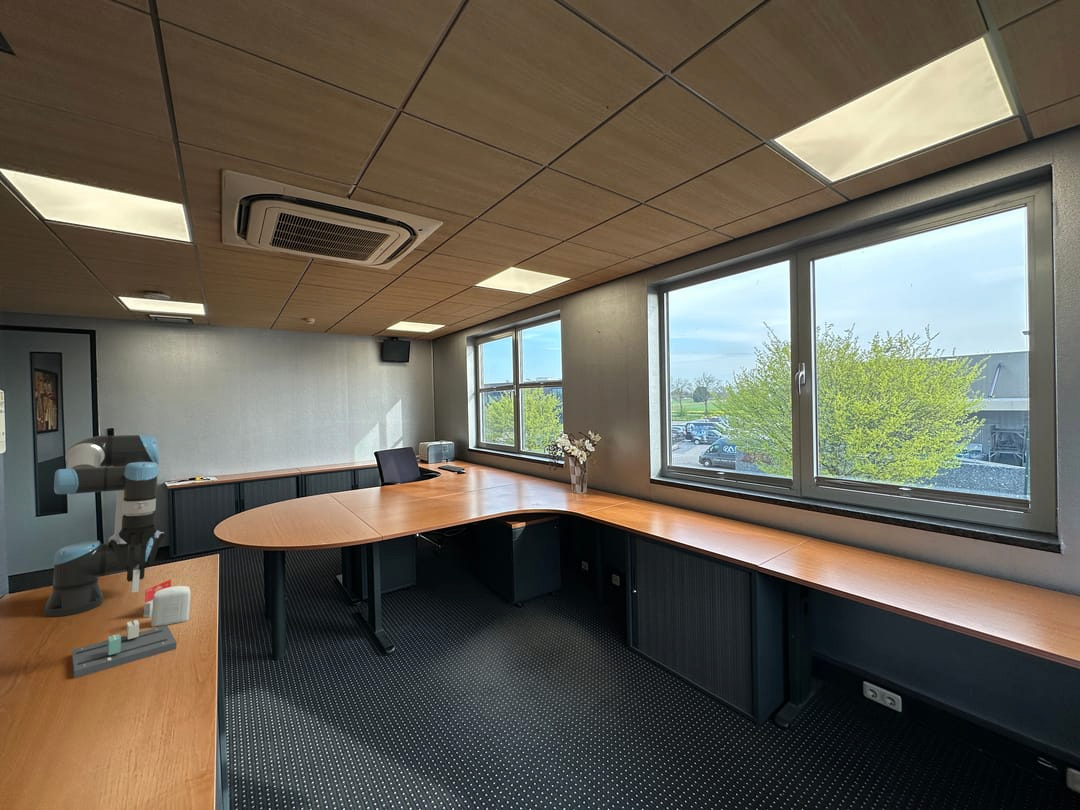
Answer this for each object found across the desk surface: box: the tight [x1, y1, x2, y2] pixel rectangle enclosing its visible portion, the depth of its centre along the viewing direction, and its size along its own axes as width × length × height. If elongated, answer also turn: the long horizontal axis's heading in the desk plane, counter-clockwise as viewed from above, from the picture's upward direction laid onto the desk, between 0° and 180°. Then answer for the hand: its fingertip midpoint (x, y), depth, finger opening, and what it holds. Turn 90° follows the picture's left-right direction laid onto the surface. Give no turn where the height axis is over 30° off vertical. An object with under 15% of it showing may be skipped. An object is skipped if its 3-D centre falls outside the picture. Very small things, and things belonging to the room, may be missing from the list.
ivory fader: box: [125, 619, 140, 639], centre depth 139 cm, size 4×2×5 cm, turn 49°
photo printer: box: [150, 585, 192, 628], centre depth 154 cm, size 10×4×12 cm, turn 123°
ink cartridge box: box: [142, 578, 172, 619], centre depth 163 cm, size 2×11×10 cm, turn 179°
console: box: [71, 624, 177, 679], centre depth 135 cm, size 16×22×2 cm
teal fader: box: [107, 633, 122, 655], centre depth 130 cm, size 4×2×5 cm, turn 49°
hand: (134, 590), depth 134 cm, fingers closed
